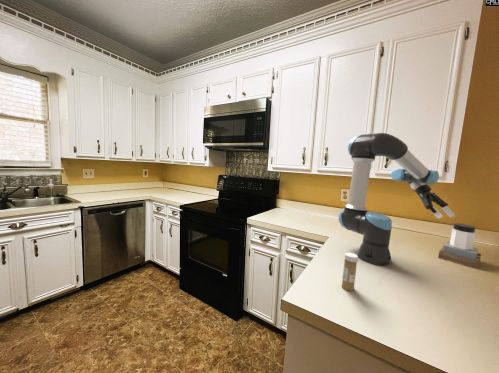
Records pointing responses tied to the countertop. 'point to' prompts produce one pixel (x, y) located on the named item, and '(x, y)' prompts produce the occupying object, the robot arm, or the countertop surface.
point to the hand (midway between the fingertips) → (446, 217)
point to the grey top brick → (460, 251)
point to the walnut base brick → (460, 259)
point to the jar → (463, 236)
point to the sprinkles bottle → (349, 271)
